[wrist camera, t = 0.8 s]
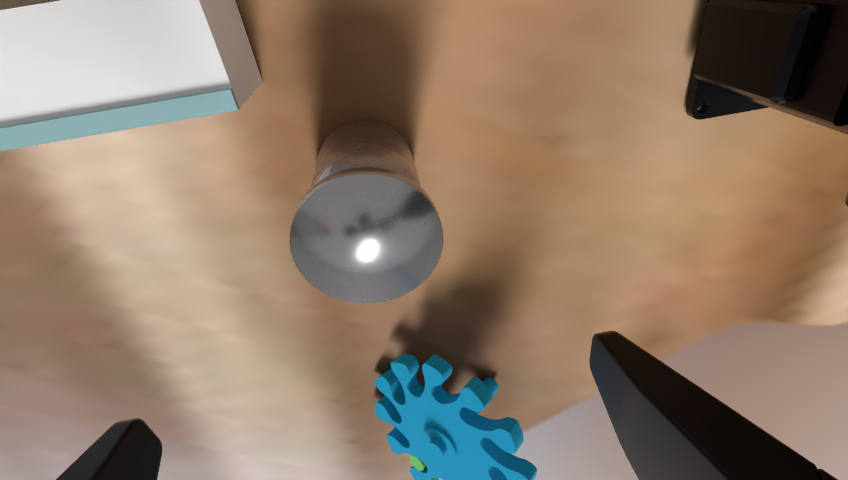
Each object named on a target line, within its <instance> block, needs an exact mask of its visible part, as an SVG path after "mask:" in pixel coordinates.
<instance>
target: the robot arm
mask: <svg viewBox="0 0 848 480" xmlns="http://www.w3.org/2000/svg"><path fill="white" fill-rule="evenodd" d="M702 102H703V105H702V107H701V108H700V109H699V110H698V107H699V105H700V104H701V103H702ZM768 107H770V108H773V109H776V110H779V111H782V112H785V113H788V114H791V115H793V116H796V117H799V118H802V119H805V120H808V121H811V122H814V123H816V124H819V125H822V126H825V127H828V128H831V129H834V130H836V131H839V132H842V133H845V134H848V0H708V4H707V7H706V11H705V16H704V20H703V25H702V30H701V35H700V40H699V44H698V49H697V54H696V59H695V63H694V68H693V75H692V80H691V85H690V90H689V94H688V99H687V104H686V113H687V115H689V116H691V117H693V118H695V119H706V118H712V117H717V116H723V115H728V114H734V113H740V112H745V111H751V110H757V109H762V108H768ZM845 203H846V205H847V206H848V194H847V197H846V201H845ZM590 368H591V372H592V374H593V377H594V379H595V382H596V384H597V387H598V389H599V392H600V394H601V397H602V399H603V402H604V404H605V407H606V409H607V412H608V414H609V417H610V419H611V422H612V424H613V427H614V429H615V432H616V434H617V437H618V439H619V441H620V444H621V446H622V448H623V450H624V452H625V454H626V456H627V458H628V460H629V462H630V464H631V466H632V468H633V470H634V471H635V473H636V475H637V477H638V479H639V480H838V479H836V478H834V477H833V476H831V475H830V474H829V473H827V472H826V471H824V470H822V469H817V467H816V466H815V464H813V463H812V462H810V461H809V460H807V459H806V458H804V457H803V456H801V455H800V454H798V453H797V452H795V451H794V450H792V449H791V448H789V447H788V446H786V445H785V444H783V443H782V442H781V441H779V440H777V439H776V438H775V437H773V436H772V435H770V434H769V433H767V432H766V431H764V430H763V429H761V428H760V427H758V426H757V425H755V424H754V423H752V422H751V421H749V420H748V419H746V418H745V417H743V416H742V415H740V414H739V413H737V412H736V411H734V410H733V409H731V408H730V407H728V406H727V405H725V404H724V403H722V402H721V401H719V400H718V399H716V398H715V397H713V396H712V395H710V394H709V393H707V392H706V391H704V390H703V389H701V388H700V387H698V386H697V385H695V384H694V383H693V382H691V381H689V380H688V379H686V378H685V377H684V376H682V375H681V374H679V373H677V372H676V371H674V370H673V369H672V368H670V367H669V366H667V365H666V364H664V363H663V362H661V361H660V360H658V359H657V358H655V357H654V356H652V355H651V354H649V353H648V352H646V351H645V350H643V349H642V348H640V347H639V346H637V345H636V344H634V343H633V342H631V341H630V340H628V339H627V338H625V337H624V336H622V335H621V334H619V333H618V332H615V331H607V332H602V333H597V334H595V335H594V336H593V339H592V346H591V353H590ZM161 456H162V444H161V441H160V439H159V438H158V437H157V436H156V435H155V433H154V432H153V431H152V430H151V429H150V428H149V426H148V425H147V424H146V423H145V422H144V421H143V420H142V419H139V418H136V419H130V420H125V421H120V422H117V423H115V424H114V425H113V426H111V427H110V428H109V429H108V430H107V431H106V432H105V433H104V434H103V435H102V436H101V437H100V438H99V439H98V440H97V441H96V442H95V443H94V444H93V445H92V446H90V447H89V448H88V449H87V450H86V451H85V452H84V453H83V454H82V455H81V456H80V457H79V458H78V459H77V460H76V461H75V462H74V463H73V464H72V465H71V466H70V467H69V468H68V469H67V470H65V471H64V472H63V473H62V474H61V475H60V476H59V477H58V478H57V479H56V480H157V477H158V472H159V466H160V461H161Z"/></svg>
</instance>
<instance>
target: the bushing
mask: <svg viewBox="0 0 848 480" xmlns="http://www.w3.org/2000/svg"><path fill="white" fill-rule="evenodd" d="M442 248H443V230H442V225H441V222H440V218H439V215H438V212H437V210H436V207H435V205H434V203H433V201H432V200H431V198H430V197H429V195H428V194H427V193H426V191H424V190H423V189H422V188H421V186H420V182H419V178H418V175H417V171H416V167H415V164H414V160H413V156H412V153H411V150H410V147H409V146H408V144H407V142H406V141H405V139H404V138H403V137H402V136H401V135H400V134H399V133H398V132H397V131H396V130H394V129H393V128H391V127H390V126H388V125H386V124H384V123H381V122H377V121H372V120H356V121H352V122H348V123H346V124H343V125H341V126H339V127H338V128H336V129H335V130H334V131H332V132H331V133H330V134H329V135H328V136H327V138H326V139H325V140H324V142H323V144H322V146H321V148H320V151H319V154H318V159H317V163H316V168H315V172H314V177H313V181H312V186H311V189H310V190H309V191H308V192H307V193H306V194H305V195H304V197H303V198H302V199H301V201H300V203H299V205H298V207H297V209H296V212H295V215H294V218H293V222H292V226H291V231H290V249H291V254H292V257H293V260H294V262H295V264H296V266H297V268H298V269H299V271H300V272H301V274H302V275H303V276H304V277H305V279H306V280H307V281H308V282H309V283H311V284H312V285H313V286H314V287H316V288H317V289H319V290H320V291H322V292H323V293H325V294H327V295H329V296H332V297H334V298H337V299H340V300H344V301H348V302H355V303H376V302H383V301H387V300H392V299H394V298H397V297H400V296H402V295H404V294H406V293H408V292H410V291H412V290H413V289H415V288H416V287H418V286H419V285H420V284H421V283H423V282H424V281H425V280H426V279H427V278H428V276H429V275H430V274H431V273H432V271H433V270H434V268H435V267H436V265H437V263H438V261H439V258H440V256H441V252H442Z"/></svg>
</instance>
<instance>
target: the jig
mask: <svg viewBox="0 0 848 480" xmlns="http://www.w3.org/2000/svg"><path fill="white" fill-rule="evenodd" d="M261 83H262V79H261V76H260V73H259V70H258V67H257V64H256V61H255V58H254V55H253V52H252V49H251V46H250V43H249V40H248V37H247V34H246V31H245V28H244V25H243V22H242V19H241V16H240V13H239V10H238V7H237V4H236V1H235V0H60V1H54V2H48V3H41V4H35V5H29V6H23V7H17V8H10V9H4V10H0V151H4V150H9V149H15V148H21V147H27V146H33V145H39V144H45V143H50V142H56V141H62V140H68V139H74V138H80V137H85V136H91V135H97V134H103V133H109V132H115V131H120V130H126V129H132V128H138V127H144V126H150V125H155V124H161V123H167V122H173V121H179V120H185V119H191V118H196V117H202V116H208V115H214V114H220V113H226V112H231V111H237V110H239V109H240V108H241V106H242V105H243V104H244V103H245V102H246V100H247V99H248V98H249V97H250V96H251V94H252V93H253V92H254V91H255V90H256V89H257V87H258V86H259V85H260V84H261Z"/></svg>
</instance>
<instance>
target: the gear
mask: <svg viewBox="0 0 848 480" xmlns="http://www.w3.org/2000/svg"><path fill="white" fill-rule="evenodd" d="M418 370H419V363H418V361H417V359H416V357H414V356H412V355H407V354H403V355H400V356H398V357H397V358H396V359H395V360H394V361H392V362H391V369H388V370H387V371H386V372H385V373H384V374H382V375H381V376H380V377H379V378H378V379H377V380H376V381H375V385H376V387H377V388H378V389H379V390H380V391H381V392H382V393H383V394H384V395H385V396H383V397H382V398H381V399H380V400H379V401H378V402H377V403H376V406H375V412H376V415H377V416H378V417H379V418H380V419H381V420H383V421H385V422H388V423H390V424H392V425H393V426H395V428H394V429H393V430H392V431H391V432H390V433H389V434H388V435H387V440H388V443H389V445H390V447H391V449H392V451H393V452H394V453H396V454H401V453H408V454H411V456H410V462H411V464H412V465H413V466H412V467H411V469H410V472H411V474H412V476H413V477H414V479H415V480H439V478H441V479H443V480H534V478H535V476H536V472H537V469H536V467H535V466H534V465H533V464H532V463H530V462H529V461H527V460H525V459H521V458H518V457H515V456H514V455H512V454H513V453H516V451H517V450H518V448H519V447H520V445H521V444H522V442H523V433H522V430H521V427H520V425H519V423H518V421H517V420H515V419H513V418H509V417H507V418H503V419H500V420H493V419H488V418H485V417H483V416H480V415H478V414H479V413H480V412H481V411H482V410H483V409H484V408H485V407H486V406H487V404H488V403H489V402H490V401H491V399H492V398H493V395H494V394H495V393H496V392H497V390H498V384H497V383H496V381H495V380H493V379H492V378H489V377H487V378H485V379H484V380H483V381H481V380H480V379H479V378H472V379H471V380H470V381H469V382H468V383H467V384H466V385H465V387H464V388H463V389H462V390H461V393H459V394H449V393H447V392H446V391H445V390H444V389H443V388H442V386H441V384H442V383H443V382H444V381H445V380H446V379H447V378H448V377H449V376H450V375H451V374H452V371H453V369H452V366H451V365H450V364H449V363H448V362H447V361H446V360H444V359H443V358H441V357H439V356H437V355H435V354H434V355H433V356H432V357H431V358H430V359H428V360H427V361H426V362H425V363H424V364H423V366H422V372H423V375H424V379H425V387H423V386H421V385H420V383H419V382H418V381H417V378H416V374H417V372H418ZM401 385H402V387H401ZM402 388H403V389H402ZM403 390H404V391H403ZM510 453H511V454H510Z"/></svg>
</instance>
